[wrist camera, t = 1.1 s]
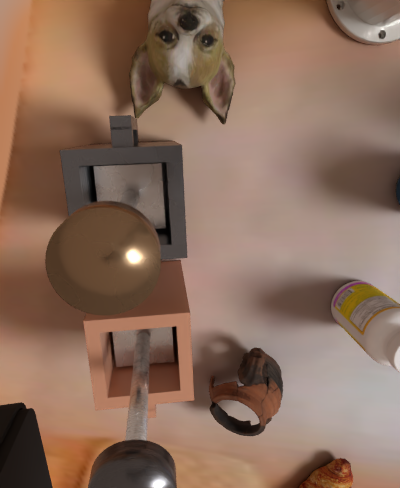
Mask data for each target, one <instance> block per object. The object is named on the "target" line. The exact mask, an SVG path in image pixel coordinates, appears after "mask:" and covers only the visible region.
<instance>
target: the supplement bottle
mask: <svg viewBox="0 0 400 488" xmlns="http://www.w3.org/2000/svg"><path fill="white" fill-rule="evenodd" d="M331 312H332V315H333V317H334V319H335V320H336V321H337V323H338V324H339V325H340V326H341V327H342V328H343V329H344V330H345V331H346V332H347V333H348V334H349V335H350V336H351V337H352V338H353V339H354V340H355V341H356V342H357V343H358V344H359V345H360V346H361V347H362V348H363V350H364V351H365V352H366V353H367V354H368V355H369V356H370V357H371V358H372V359H373V360H375V361H376V362H378V363H380V364H383V365H387V366H393V367H394V368H395V369H396V370H397V371H398V372H400V304H399V303H397V302H396V301H394V300H393V299H392V298H390V297H389V296H387V295H386V294H384V293H383V292H382V291H380V290H379V289H377V288H376V287H374V286H373V285H371V284H369V283H367V282H364V281H353V282H350V283H347V284H345V285H344V286H342V287H341V288H340V289H339V290H338V291H337V292H336V293H335V295H334V297H333V299H332V303H331Z"/></svg>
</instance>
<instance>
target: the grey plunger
mask: <svg viewBox="0 0 400 488" xmlns="http://www.w3.org/2000/svg"><path fill="white" fill-rule="evenodd" d="M112 333H113V342H114V351H115V360H116V367H121V366H132V365H133V372H132V382H131V392H130V401H129V411H128V421H127V430H126V440H125V441H122V442H118V443H116V444H113V445H112V446H110V447H108V448H107V449H105V450H104V451H103V452H102V453H101V454H100V455H99V456H98V457H97V458H96V460H95V462H94V464H93V466H92V470H91V475H90V480H89V485H88V488H177V485H176V468H175V463H174V460H173V458H172V456H171V455H170V454H169V452H168V451H167V450H166V449H164V448H163V447H161V446H160V445H158V444H156V443H153V442H150V441H147V420H148V391H149V364H154V363H164V362H174V351H173V336H172V327H161V328H150V329H138V330H126V331H114V332H112Z"/></svg>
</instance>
